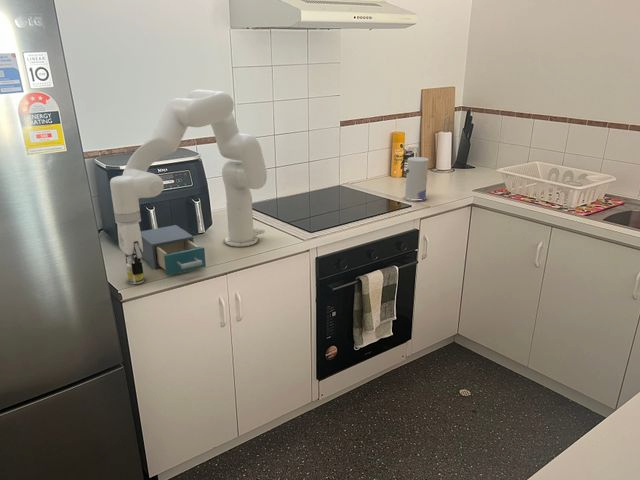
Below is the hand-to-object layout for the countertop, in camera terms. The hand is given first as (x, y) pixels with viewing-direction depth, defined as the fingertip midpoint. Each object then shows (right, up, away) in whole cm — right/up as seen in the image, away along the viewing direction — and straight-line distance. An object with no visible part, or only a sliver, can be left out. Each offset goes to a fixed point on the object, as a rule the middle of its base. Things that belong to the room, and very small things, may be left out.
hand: (135, 270), depth 177 cm
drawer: (+12, +1, +11) cm, 16 cm away
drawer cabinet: (+4, +5, +21) cm, 22 cm away
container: (+107, +36, +96) cm, 148 cm away
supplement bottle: (0, -4, +2) cm, 4 cm away
